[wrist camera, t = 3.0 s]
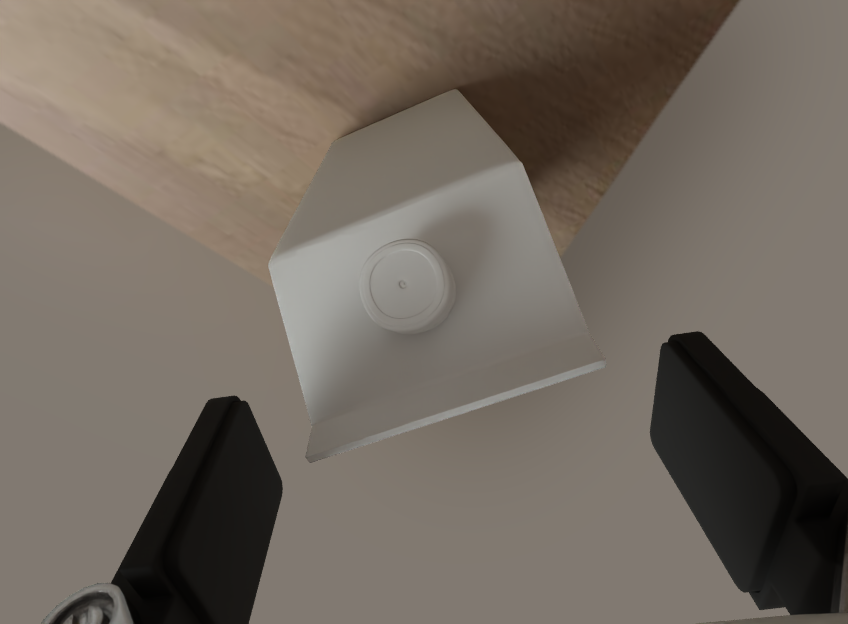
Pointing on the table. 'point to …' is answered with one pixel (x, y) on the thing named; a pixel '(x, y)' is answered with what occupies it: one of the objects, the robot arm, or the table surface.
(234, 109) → the table surface
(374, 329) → the milk carton
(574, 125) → the table surface
